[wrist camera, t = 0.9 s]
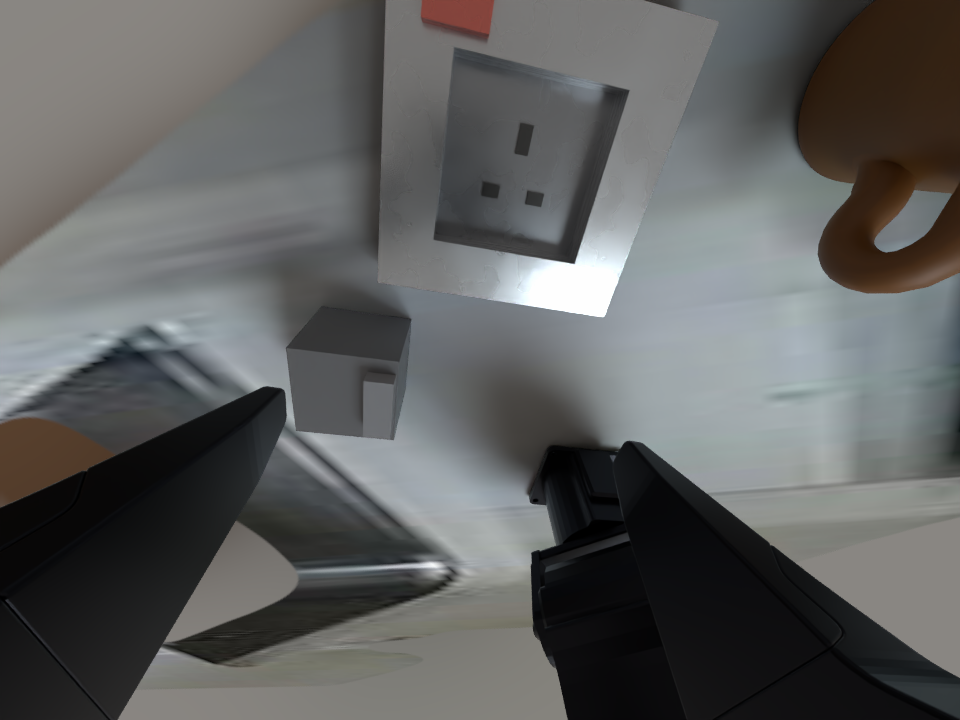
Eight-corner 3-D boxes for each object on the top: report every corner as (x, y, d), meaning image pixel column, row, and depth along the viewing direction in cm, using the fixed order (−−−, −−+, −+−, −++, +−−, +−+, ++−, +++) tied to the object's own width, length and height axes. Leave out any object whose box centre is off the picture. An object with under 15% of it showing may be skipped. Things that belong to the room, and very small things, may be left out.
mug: (768, 279, 21) (961, 361, 13) (684, 205, 18) (855, 251, 10) (1002, 58, 16) (1560, -34, 8) (927, -82, 13) (1616, -419, 5)
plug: (405, 387, 24) (391, 450, 19) (326, 378, 23) (289, 441, 18) (411, 318, 21) (396, 370, 16) (322, 306, 21) (278, 356, 16)
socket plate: (589, 300, 21) (607, 321, 18) (386, 268, 19) (374, 286, 17) (684, 39, 15) (730, 16, 12) (399, -39, 13) (384, -83, 11)
